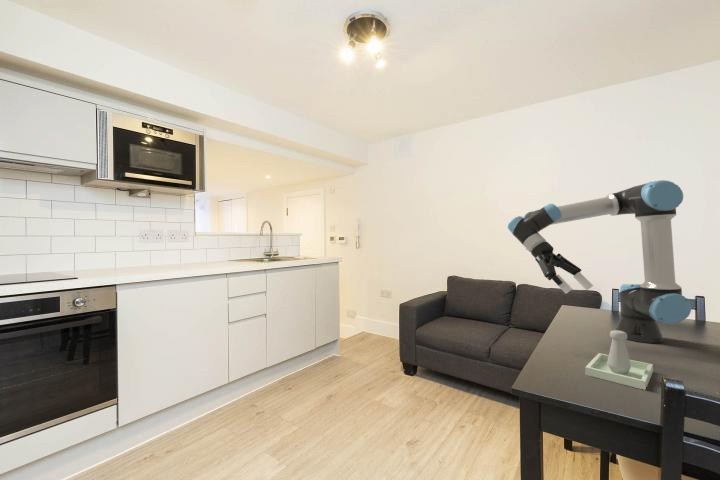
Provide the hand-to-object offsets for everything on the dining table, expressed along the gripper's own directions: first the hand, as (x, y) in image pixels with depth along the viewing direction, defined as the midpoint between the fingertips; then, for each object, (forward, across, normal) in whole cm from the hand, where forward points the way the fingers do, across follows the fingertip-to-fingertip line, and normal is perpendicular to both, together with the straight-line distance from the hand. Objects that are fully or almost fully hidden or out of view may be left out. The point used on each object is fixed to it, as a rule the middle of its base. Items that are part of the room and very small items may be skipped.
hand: (579, 289), depth 112 cm
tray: (+27, +4, -8) cm, 28 cm away
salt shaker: (+26, +4, -8) cm, 28 cm away
